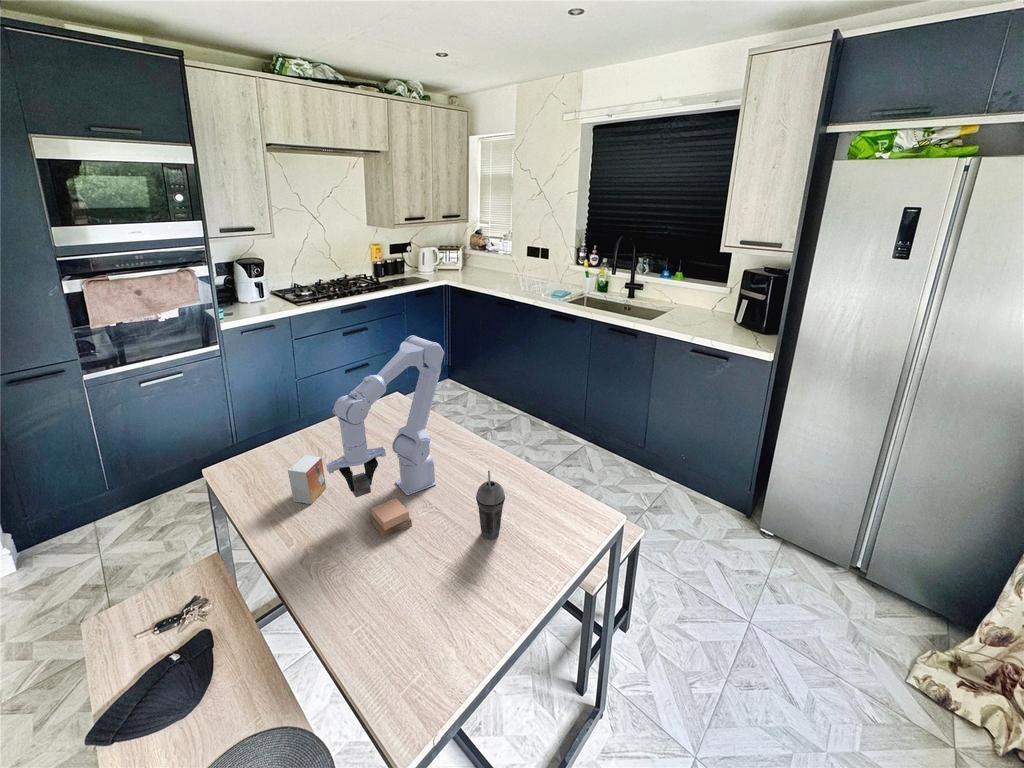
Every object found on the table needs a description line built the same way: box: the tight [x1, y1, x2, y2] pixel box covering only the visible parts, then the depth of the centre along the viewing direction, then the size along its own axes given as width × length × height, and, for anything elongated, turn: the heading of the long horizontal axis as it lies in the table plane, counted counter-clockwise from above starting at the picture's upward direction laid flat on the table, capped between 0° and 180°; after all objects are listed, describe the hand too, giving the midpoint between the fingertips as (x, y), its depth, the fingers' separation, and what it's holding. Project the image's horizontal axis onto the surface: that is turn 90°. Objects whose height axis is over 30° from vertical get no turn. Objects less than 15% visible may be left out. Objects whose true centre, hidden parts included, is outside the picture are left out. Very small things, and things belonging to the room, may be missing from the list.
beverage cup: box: [475, 470, 506, 541], centre depth 123 cm, size 7×7×20 cm
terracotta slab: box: [371, 497, 410, 530], centre depth 128 cm, size 7×7×2 cm
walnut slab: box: [369, 513, 413, 539], centre depth 130 cm, size 8×8×2 cm
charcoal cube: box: [352, 471, 372, 498], centre depth 129 cm, size 4×4×4 cm
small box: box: [287, 454, 327, 505], centre depth 138 cm, size 8×6×10 cm
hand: (360, 486), depth 129 cm, fingers closed on charcoal cube, 4 cm apart
